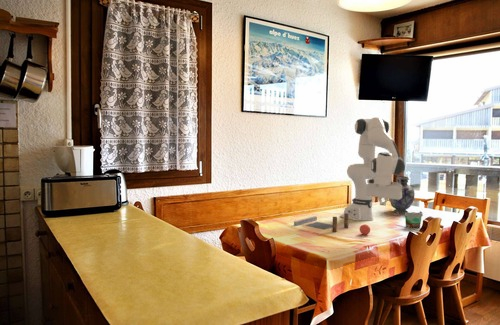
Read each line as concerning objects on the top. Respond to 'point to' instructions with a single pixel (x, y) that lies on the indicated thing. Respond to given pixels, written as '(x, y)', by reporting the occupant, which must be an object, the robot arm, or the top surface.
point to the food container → (413, 219)
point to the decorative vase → (403, 196)
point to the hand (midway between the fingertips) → (382, 205)
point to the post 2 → (346, 220)
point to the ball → (365, 229)
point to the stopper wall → (305, 220)
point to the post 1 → (334, 224)
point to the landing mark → (320, 225)
